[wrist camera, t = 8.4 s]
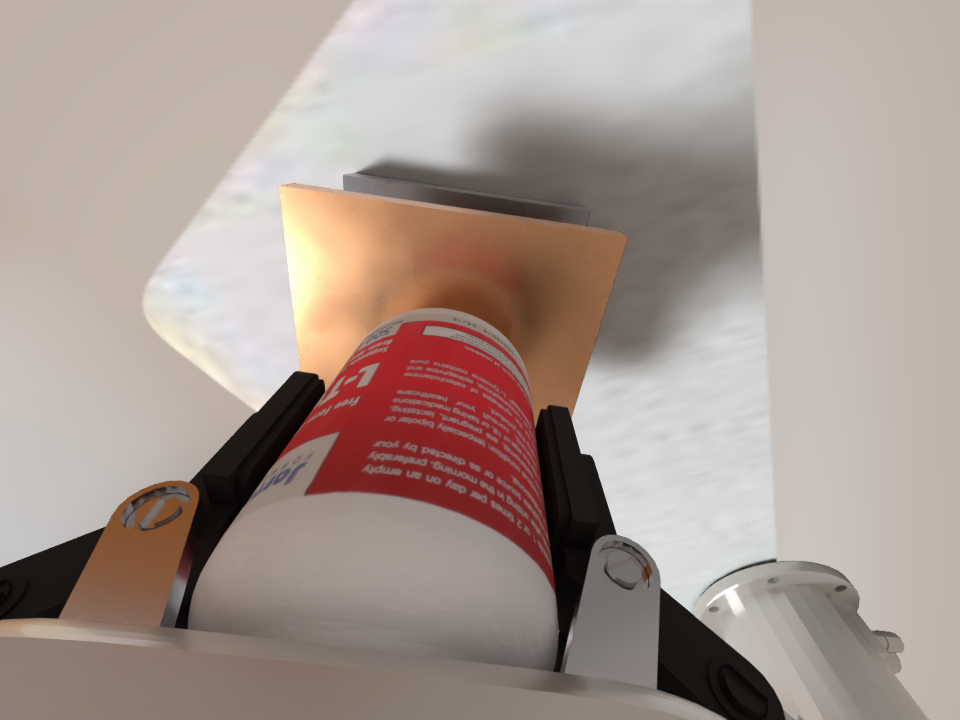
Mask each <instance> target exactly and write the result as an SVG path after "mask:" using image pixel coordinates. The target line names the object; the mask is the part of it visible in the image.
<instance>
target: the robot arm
mask: <svg viewBox="0 0 960 720" xmlns="http://www.w3.org/2000/svg"><path fill="white" fill-rule="evenodd" d="M324 393H325V382H324V380H323V379H319V376H318V375H317V374H315V373H308V372H300V371H296V372H294V373H293V374H292V375H291V376H290V377H289V379H288V380H287V381H286V382H285V383H284V384H283V385H282V386H281V387H280V388H279V389H278V391H277V392H276V393H275V394H274V395H273V396H272V397H271V398H270V399H269V400H268V401H267V402H266V404H265V405H264V406H263V407H262V408H261V409H260V410H259V411H258V412H256V413H254V414H253V415H252V416H251V417H250V418H249V419H248V420H247V421H246V422H245V423H244V424H243V425H242V426H241V427H240V428H239V429H238V430H237V431H236V433H235V434H234V435H233V436H232V437H231V438H230V439H229V440H228V441H227V442H226V443H225V444H224V445H223V447H222V448H221V449H220V450H219V451H218V452H217V453H216V454H215V455H214V456H213V457H212V458H211V459H210V461H209V462H208V463H207V464H206V465H205V466H204V467H203V468H202V469H201V470H200V471H199V472H198V473H197V474H196V476H195V477H194V478H193V479H192V480H191V481H190V482H185V481H166V482H162V483H158V484H154V485H151V486H149V487H146V488H144V489H141V490H140V491H138V492H136V493H135V494H133V495H132V496H130V497H128V498H127V499H126V500H125V501H124V502H123V503H121V504H120V505H119V506H118V508H117V509H116V510H115V512H114V513H113V515H112V516H111V518H110V520H109V522H108V524H107V526H106V527H104V528H101V529H98V530H96V531H93V532H91V533H88V534H86V535H83V536H81V537H78V538H75V539H73V540H70V541H68V542H65V543H62V544H60V545H57V546H55V547H52V548H49V549H47V550H44V551H42V552H39V553H36V554H34V555H31V556H29V557H26V558H24V559H21V560H18V561H16V562H13V563H11V564H8V565H6V566H3V567H1V568H0V720H929V719H928V718H927V717H926V715H925V714H924V713H923V711H922V710H921V709H920V707H919V706H918V705H917V703H916V702H915V701H914V699H913V698H912V697H911V695H910V694H909V693H908V692H907V690H906V689H905V688H904V686H903V685H902V684H901V682H900V681H899V680H898V679H897V677H896V676H895V674H896V673H899V672H900V670H901V662H900V659H899V658H898V656H897V654H896V653H901V652H903V650H904V644H903V642H902V640H901V639H900V637H898V636H897V635H896V634H894V633H892V632H886V631H877V630H876V631H871V630H870V629H869V628H868V626H867V625H866V624H865V622H864V621H863V620H862V619H861V617H860V616H859V615H858V613H857V610H858V607H859V599H860V598H859V595H858V592H857V590H856V589H855V588H854V586H853V585H852V584H851V583H850V581H849V580H848V579H847V578H846V577H845V576H844V575H843V574H842V573H840V572H839V571H837V570H835V569H833V568H831V567H829V566H825V565H821V564H818V563H812V562H804V561H782V562H772V563H766V564H761V565H757V566H752V567H749V568H746V569H743V570H740V571H737V572H735V573H733V574H731V575H728V576H726V577H724V578H723V579H721V580H719V581H718V582H716V583H714V584H713V585H712V586H711V587H709V588H708V589H707V590H706V591H705V592H704V593H703V594H702V595H701V597H700V598H699V599H698V602H697V604H696V606H695V610H694V615H693V614H692V613H690V612H689V611H688V610H687V609H686V608H684V607H683V606H682V605H681V604H680V603H678V602H677V601H676V600H675V599H674V598H672V597H671V596H670V595H669V594H668V593H666V592H665V591H664V590H663V589H662V588H660V574H659V570H658V568H657V566H656V563H655V561H654V560H653V559H652V557H651V556H650V555H649V553H648V552H647V551H646V550H645V549H643V548H642V547H641V546H640V545H639V544H637V543H636V542H634V541H632V540H630V539H629V538H626V537H623V536H619V535H617V534H616V530H615V527H614V524H613V521H612V517H611V514H610V511H609V508H608V505H607V501H606V498H605V495H604V492H603V488H602V485H601V482H600V479H599V475H598V472H597V469H596V466H595V462H594V460H593V458H592V456H591V455H586V454H581V453H580V449H579V445H578V442H577V438H576V434H575V431H574V427H573V423H572V419H571V416H570V412H569V409H568V408H567V407H562V406H555V405H548V407H547V409H541V410H540V413H539V416H538V420H537V424H536V428H535V432H536V440H537V449H538V456H539V465H540V472H541V481H542V489H543V494H544V502H545V511H546V518H547V525H548V535H549V543H550V551H551V557H552V566H553V576H554V582H555V591H556V601H557V611H558V613H557V616H558V628H559V635H558V650H557V657H556V663H555V667H554V670H553V672H551V671H544V670H537V669H529V668H520V667H512V666H504V665H495V664H487V663H479V662H470V661H462V660H453V659H445V658H437V657H428V656H420V655H411V654H402V653H394V652H385V651H376V650H368V649H359V648H350V647H341V646H332V645H324V644H315V643H306V642H297V641H288V640H279V639H270V638H261V637H252V636H243V635H233V634H224V633H215V632H206V631H196V630H188V616H189V610H190V604H191V600H192V595H193V591H194V589H195V586H196V584H197V581H198V579H199V576H200V574H201V572H202V570H203V568H204V567H205V565H206V563H207V561H208V559H209V558H210V556H211V555H212V553H213V551H214V550H215V548H216V546H217V545H218V543H219V542H220V540H221V538H222V537H223V535H224V534H225V532H226V531H227V530H228V528H229V527H230V525H231V524H232V523H233V521H234V520H235V518H236V517H237V515H238V514H239V513H240V511H241V510H242V509H243V507H244V506H245V504H246V503H247V501H248V500H249V499H250V497H251V496H252V494H253V493H254V491H255V490H256V489H257V487H258V486H259V484H260V483H261V482H262V480H263V479H264V477H265V476H266V474H267V473H268V471H269V470H270V469H271V467H272V466H273V465H274V464H275V462H276V461H277V459H278V458H279V456H280V455H281V453H282V452H283V450H284V449H285V448H286V446H287V445H288V444H289V442H290V441H291V440H292V438H293V437H294V435H295V434H296V432H297V431H298V430H299V428H300V427H301V425H302V424H303V423H304V421H305V420H306V418H307V417H308V416H309V414H310V413H311V411H312V410H313V409H314V407H315V406H316V404H317V403H318V402H319V400H320V399H321V397H322V396H323V394H324Z"/></svg>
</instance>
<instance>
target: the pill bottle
mask: <svg viewBox="0 0 960 720" xmlns="http://www.w3.org/2000/svg"><path fill="white" fill-rule="evenodd" d="M557 613H558V611H557V601H556V591H555V582H554V576H553V566H552V557H551V551H550V543H549V535H548V525H547V518H546V511H545V502H544V494H543V489H542V481H541V472H540V465H539V456H538V449H537V440H536V432H535V424H534V416H533V408H532V399H531V390H530V384H529V380H528V375H527V372H526V368H525V365H524V363H523V361H522V359H521V357H520V355H519V354H518V352H517V350H516V349H515V348H514V346H513V345H512V344H511V342H510V341H509V340H508V339H507V338H506V337H505V336H504V335H503V334H502V333H501V332H500V331H498V330H497V329H496V328H494V327H493V326H492V325H490V324H488V323H487V322H485V321H483V320H481V319H479V318H477V317H475V316H472V315H470V314H467V313H464V312H460V311H456V310H451V309H444V308H422V309H415V310H411V311H407V312H404V313H401V314H399V315H396V316H394V317H392V318H390V319H388V320H386V321H385V322H383V323H382V324H380V325H379V326H377V327H376V328H375V329H374V330H373V331H371V332H370V333H369V334H368V335H367V336H366V337H365V338H364V340H363V341H362V342H361V343H360V344H359V346H358V347H357V349H356V350H355V351H354V353H353V354H352V356H351V357H350V358H349V360H348V361H347V363H346V364H345V365H344V367H343V368H342V370H341V371H340V372H339V374H338V375H337V376H336V378H335V379H334V381H333V382H332V384H331V385H330V386H329V388H328V389H327V390H326V392H325V393H324V394H323V396H322V397H321V399H320V400H319V402H318V403H317V404H316V406H315V407H314V409H313V410H312V411H311V413H310V414H309V416H308V417H307V418H306V420H305V421H304V423H303V424H302V425H301V427H300V428H299V430H298V431H297V432H296V434H295V435H294V437H293V438H292V440H291V441H290V442H289V444H288V445H287V446H286V448H285V449H284V450H283V452H282V453H281V455H280V456H279V458H278V459H277V461H276V462H275V464H274V465H273V466H272V467H271V469H270V470H269V471H268V473H267V474H266V476H265V477H264V479H263V480H262V482H261V483H260V484H259V486H258V487H257V489H256V490H255V491H254V493H253V494H252V496H251V497H250V499H249V500H248V501H247V503H246V504H245V506H244V507H243V509H242V510H241V511H240V513H239V514H238V515H237V517H236V518H235V520H234V521H233V523H232V524H231V525H230V527H229V528H228V530H227V531H226V532H225V534H224V535H223V537H222V538H221V540H220V542H219V543H218V545H217V546H216V548H215V550H214V551H213V553H212V555H211V556H210V558H209V559H208V561H207V563H206V565H205V567H204V568H203V570H202V572H201V574H200V576H199V579H198V581H197V584H196V586H195V589H194V591H193V595H192V600H191V604H190V610H189V616H188V630H196V631H206V632H215V633H224V634H233V635H243V636H252V637H261V638H270V639H279V640H288V641H297V642H306V643H315V644H324V645H332V646H341V647H350V648H359V649H368V650H376V651H385V652H394V653H402V654H411V655H420V656H428V657H437V658H445V659H453V660H462V661H470V662H479V663H487V664H495V665H504V666H512V667H520V668H529V669H537V670H544V671H551V672H553V670H554V667H555V663H556V657H557V650H558V635H559V628H558V616H557Z"/></svg>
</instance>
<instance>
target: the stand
mask: <svg viewBox="0 0 960 720" xmlns="http://www.w3.org/2000/svg"><path fill="white" fill-rule="evenodd" d="M343 186H344V190H337V189H330V188H323V187H316V186H310V185H303V184H296V183H292V184H287V185H281V186H279V190H280V199H281V208H282V216H283V225H284V234H285V242H286V251H287V259H288V268H289V277H290V285H291V294H292V303H293V311H294V320H295V328H296V337H297V346H298V354H299V363H300V372H308V373H315V374H317V375H318V376H319V379H323V380H324V382H325V392H326V390H327V389H328V388H329V386H330V385H331V384H332V382H333V381H334V379H335V378H336V376H337V375H338V374H339V372H340V371H341V370H342V368H343V367H344V365H345V364H346V363H347V361H348V360H349V358H350V357H351V356H352V354H353V353H354V351H355V350H356V349H357V347H358V346H359V344H360V343H361V342H362V341H363V340H364V338H365V337H366V336H367V335H368V334H369V333H370V332H371V331H373V330H374V329H375V328H376V327H377V326H379V325H380V324H382V323H383V322H385V321H386V320H388V319H390V318H392V317H394V316H396V315H399V314H401V313H404V312H407V311H411V310H415V309H422V308H444V309H451V310H456V311H460V312H464V313H467V314H470V315H472V316H475V317H477V318H479V319H481V320H483V321H485V322H487V323H488V324H490V325H492V326H493V327H494V328H496V329H497V330H498V331H500V332H501V333H502V334H503V335H504V336H505V337H506V338H507V339H508V340H509V341H510V342H511V344H512V345H513V346H514V348H515V349H516V350H517V352H518V354H519V355H520V357H521V359H522V361H523V363H524V365H525V368H526V372H527V375H528V380H529V384H530V390H531V399H532V408H533V416H534V424H535V428H536V424H537V420H538V416H539V413H540V410H541V409H547V407H548V405H555V406H562V407H567V408H568V409H569V412H570V416H571V417H572V414H573V411H574V408H575V405H576V401H577V398H578V395H579V392H580V389H581V385H582V382H583V379H584V376H585V373H586V370H587V366H588V363H589V360H590V357H591V354H592V351H593V347H594V344H595V341H596V338H597V335H598V331H599V328H600V325H601V322H602V319H603V316H604V312H605V309H606V306H607V303H608V300H609V296H610V293H611V290H612V287H613V284H614V281H615V277H616V274H617V271H618V268H619V265H620V262H621V258H622V255H623V252H624V249H625V246H626V242H627V239H628V236H626V235H625V234H623V233H622V232H620V231H616V230H609V229H602V228H595V227H589V226H586V225H587V221H588V218H589V214H590V211H588V210H587V209H585V208H584V207H581V206H574V205H567V204H561V203H554V202H547V201H540V200H534V199H527V198H520V197H513V196H507V195H500V194H493V193H486V192H480V191H473V190H466V189H460V188H453V187H446V186H439V185H433V184H426V183H419V182H412V181H406V180H399V179H392V178H385V177H379V176H372V175H365V174H358V173H352V174H346V175H343Z"/></svg>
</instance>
